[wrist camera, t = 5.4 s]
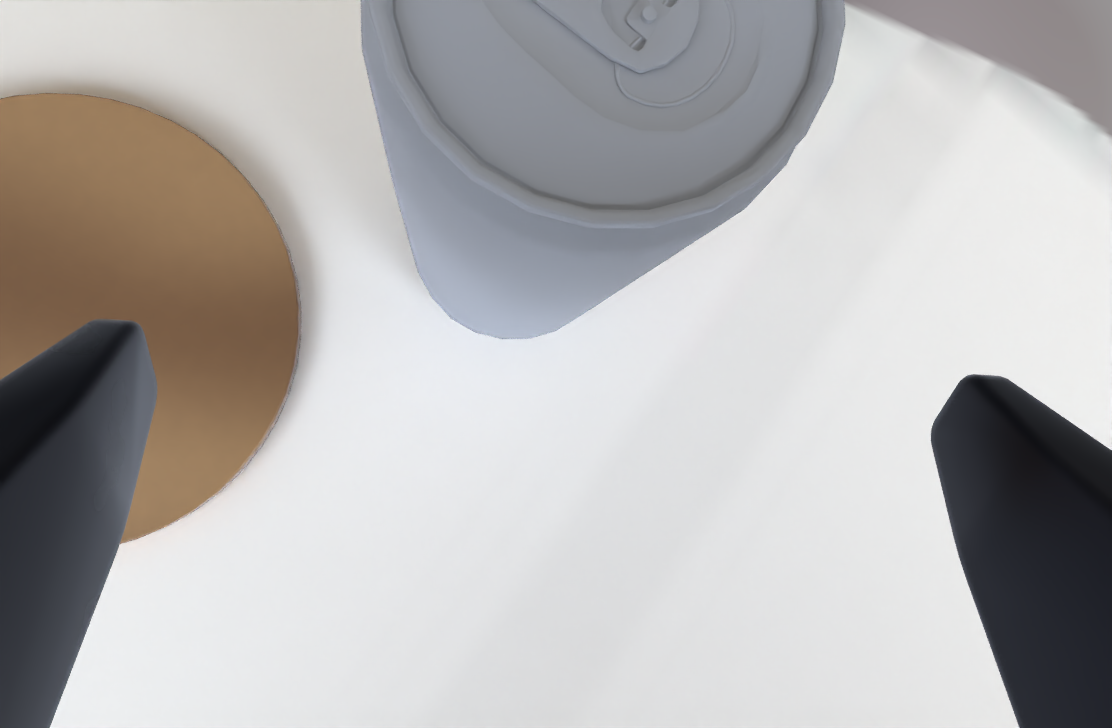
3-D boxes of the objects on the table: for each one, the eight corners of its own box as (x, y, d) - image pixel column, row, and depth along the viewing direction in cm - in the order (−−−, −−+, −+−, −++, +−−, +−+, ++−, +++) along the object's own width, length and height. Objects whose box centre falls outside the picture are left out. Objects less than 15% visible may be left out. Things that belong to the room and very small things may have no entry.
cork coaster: (341, 494, 19) (339, 495, 18) (-138, 600, 17) (-151, 605, 17) (254, 67, 19) (249, 60, 18) (-227, 138, 17) (-243, 131, 17)
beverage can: (533, 382, 19) (676, 346, 7) (366, 260, 19) (236, 18, 7) (648, 222, 20) (951, -48, 8) (488, 100, 20) (557, -372, 8)
